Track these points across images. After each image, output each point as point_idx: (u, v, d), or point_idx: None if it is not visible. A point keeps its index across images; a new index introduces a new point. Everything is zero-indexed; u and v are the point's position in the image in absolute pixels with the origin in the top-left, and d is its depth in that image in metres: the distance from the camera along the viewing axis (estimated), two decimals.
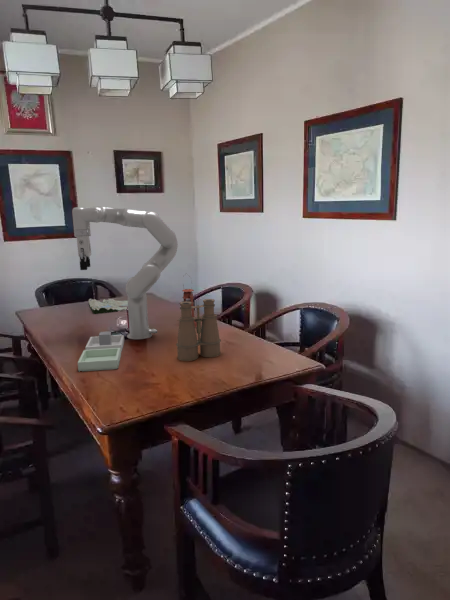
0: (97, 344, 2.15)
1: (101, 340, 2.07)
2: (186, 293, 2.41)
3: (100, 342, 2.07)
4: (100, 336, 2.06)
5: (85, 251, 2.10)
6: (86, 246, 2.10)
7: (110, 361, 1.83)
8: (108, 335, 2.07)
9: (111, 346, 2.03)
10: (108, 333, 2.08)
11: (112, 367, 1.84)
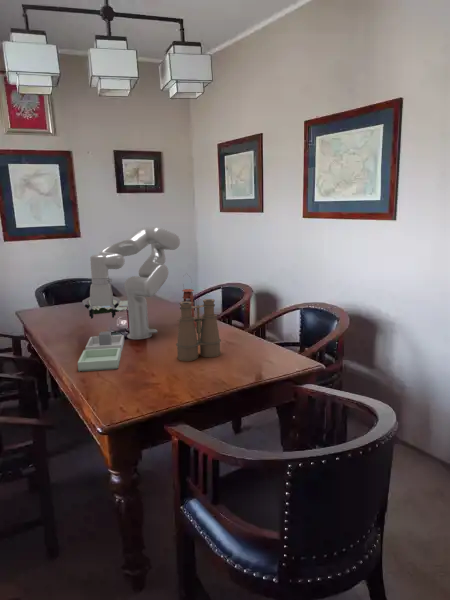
0: (97, 344, 2.15)
1: (101, 340, 2.07)
2: (186, 293, 2.41)
3: (100, 342, 2.07)
4: (100, 336, 2.06)
5: None
6: None
7: (110, 361, 1.83)
8: (108, 335, 2.07)
9: (111, 346, 2.03)
10: (108, 333, 2.08)
11: (112, 367, 1.84)
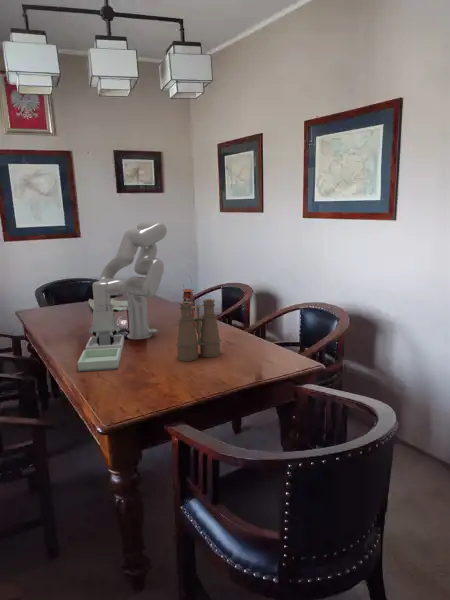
0: (97, 344, 2.15)
1: (101, 340, 2.07)
2: (186, 293, 2.41)
3: (100, 342, 2.07)
4: (100, 336, 2.06)
5: (115, 323, 2.10)
6: None
7: (110, 361, 1.83)
8: (108, 335, 2.07)
9: (111, 346, 2.03)
10: (108, 333, 2.08)
11: (112, 367, 1.84)
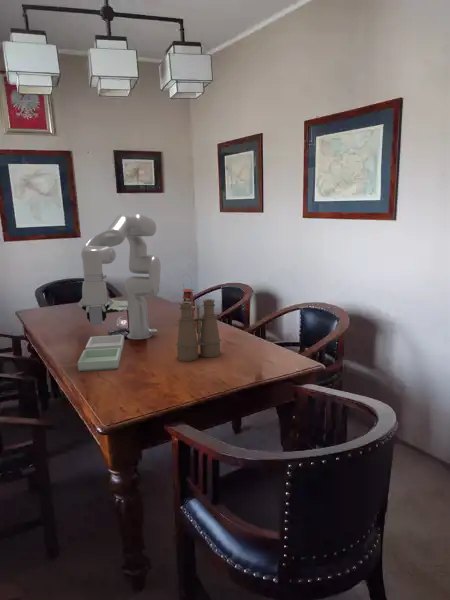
0: (97, 344, 2.15)
1: (92, 315, 1.84)
2: (186, 293, 2.41)
3: (91, 317, 1.84)
4: (90, 310, 1.83)
5: (107, 296, 1.87)
6: None
7: (110, 361, 1.83)
8: (100, 309, 1.84)
9: (111, 346, 2.03)
10: (100, 307, 1.85)
11: (112, 367, 1.84)
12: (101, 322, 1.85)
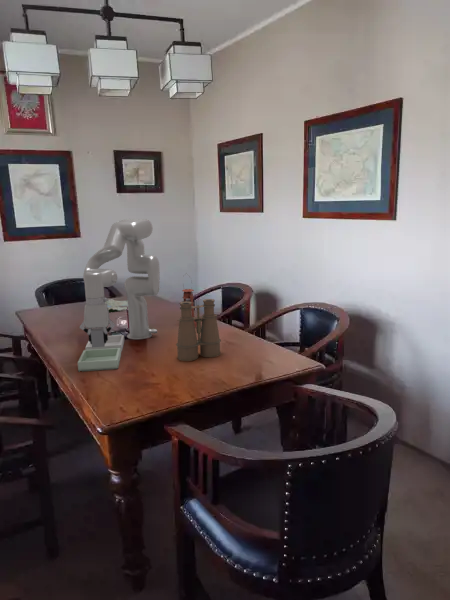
0: None
1: (94, 338, 1.86)
2: (186, 293, 2.41)
3: (92, 339, 1.86)
4: (92, 333, 1.85)
5: (109, 318, 1.89)
6: None
7: (110, 361, 1.83)
8: (101, 332, 1.86)
9: (111, 346, 2.03)
10: (101, 330, 1.87)
11: (112, 367, 1.84)
12: (103, 344, 1.87)
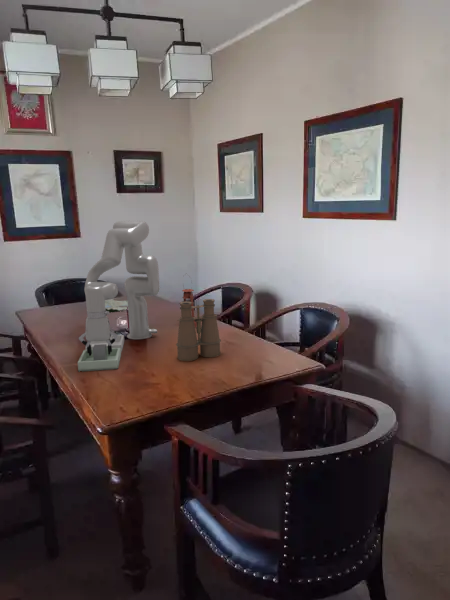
0: (97, 344, 2.15)
1: (95, 355, 1.88)
2: (186, 293, 2.41)
3: (94, 356, 1.88)
4: (94, 350, 1.87)
5: None
6: None
7: (110, 361, 1.83)
8: (103, 349, 1.88)
9: None
10: (103, 346, 1.89)
11: (112, 367, 1.84)
12: None
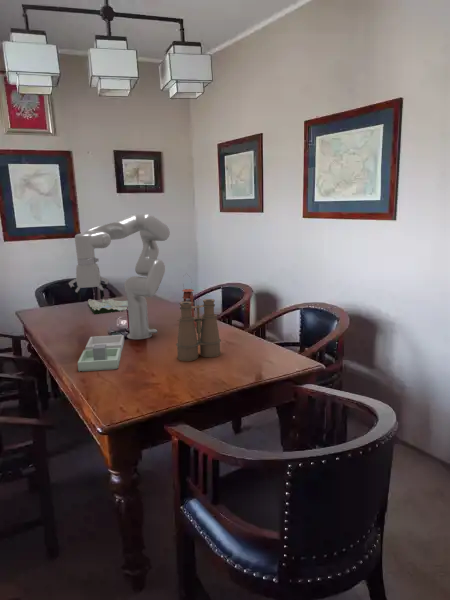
0: (97, 344, 2.15)
1: (95, 355, 1.88)
2: (186, 293, 2.41)
3: (94, 356, 1.88)
4: (94, 350, 1.87)
5: None
6: None
7: (110, 361, 1.83)
8: (103, 349, 1.88)
9: (111, 346, 2.03)
10: (103, 346, 1.89)
11: (112, 367, 1.84)
12: None
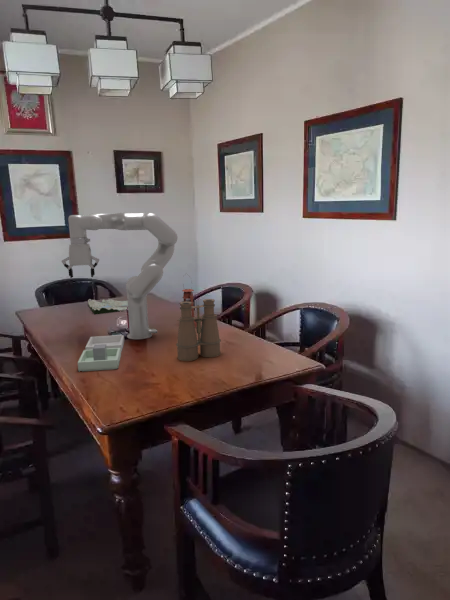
0: (97, 344, 2.15)
1: (95, 355, 1.88)
2: (186, 293, 2.41)
3: (94, 356, 1.88)
4: (94, 350, 1.87)
5: None
6: None
7: (110, 361, 1.83)
8: (103, 349, 1.88)
9: (111, 346, 2.03)
10: (103, 346, 1.89)
11: (112, 367, 1.84)
12: None
